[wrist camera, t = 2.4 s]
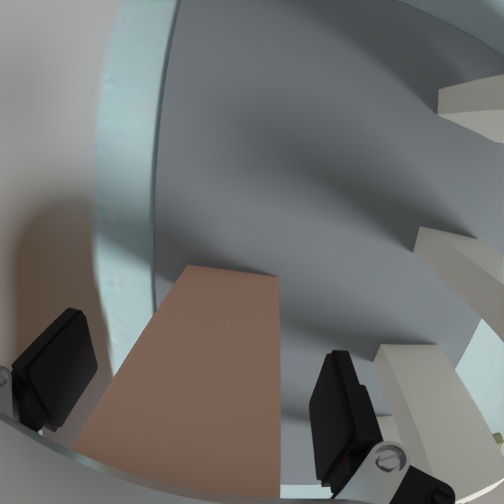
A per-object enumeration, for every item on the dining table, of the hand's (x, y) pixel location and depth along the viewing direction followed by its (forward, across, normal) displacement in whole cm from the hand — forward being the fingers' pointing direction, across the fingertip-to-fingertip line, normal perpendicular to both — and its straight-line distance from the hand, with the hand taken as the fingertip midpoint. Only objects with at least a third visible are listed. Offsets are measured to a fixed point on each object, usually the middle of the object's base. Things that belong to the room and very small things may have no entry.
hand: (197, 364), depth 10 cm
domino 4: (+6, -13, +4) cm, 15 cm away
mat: (+7, -8, +4) cm, 11 cm away
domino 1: (+6, 0, 0) cm, 7 cm away
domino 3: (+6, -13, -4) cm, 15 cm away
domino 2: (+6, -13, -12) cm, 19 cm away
